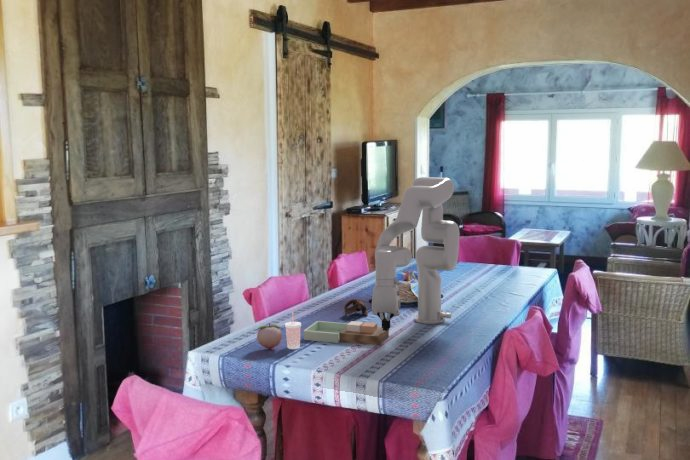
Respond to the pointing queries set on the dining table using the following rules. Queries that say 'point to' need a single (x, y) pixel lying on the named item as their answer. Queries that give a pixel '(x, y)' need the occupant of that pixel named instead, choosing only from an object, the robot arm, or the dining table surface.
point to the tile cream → (354, 326)
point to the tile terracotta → (369, 327)
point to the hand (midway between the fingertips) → (386, 329)
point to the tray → (324, 331)
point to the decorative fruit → (269, 336)
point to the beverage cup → (293, 334)
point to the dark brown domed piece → (355, 307)
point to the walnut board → (364, 337)
